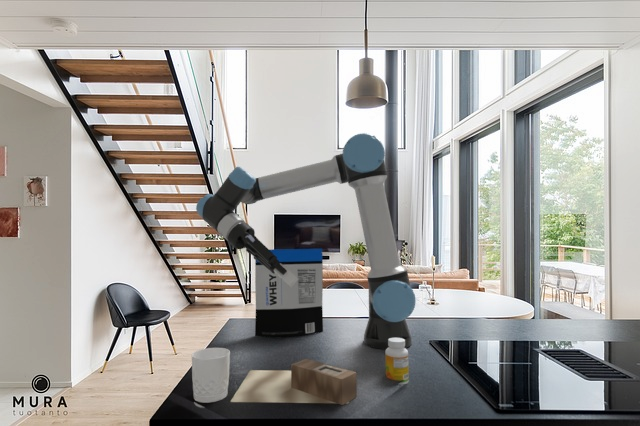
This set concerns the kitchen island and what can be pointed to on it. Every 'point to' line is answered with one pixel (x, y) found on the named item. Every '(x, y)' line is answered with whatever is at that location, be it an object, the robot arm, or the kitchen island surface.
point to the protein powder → (290, 295)
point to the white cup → (210, 374)
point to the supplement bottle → (397, 360)
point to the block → (324, 381)
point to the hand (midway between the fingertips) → (294, 282)
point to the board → (272, 389)
